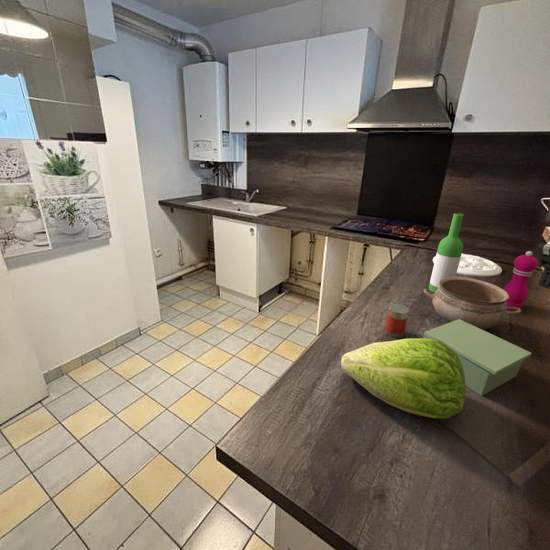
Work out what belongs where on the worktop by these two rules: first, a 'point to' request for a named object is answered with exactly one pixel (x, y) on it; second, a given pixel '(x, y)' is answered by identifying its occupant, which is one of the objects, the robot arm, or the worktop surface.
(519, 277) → the pepper mill
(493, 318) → the cooking pot
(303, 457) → the worktop surface
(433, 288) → the wine bottle
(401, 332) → the jar
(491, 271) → the ceiling medallion
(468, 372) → the bin
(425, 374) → the lettuce
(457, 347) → the bin lid
